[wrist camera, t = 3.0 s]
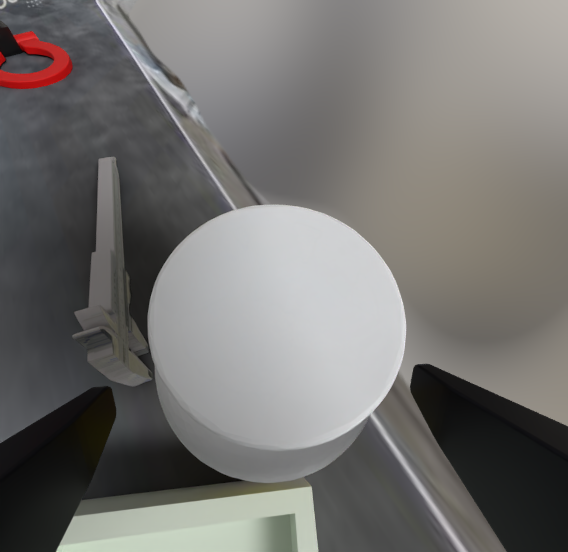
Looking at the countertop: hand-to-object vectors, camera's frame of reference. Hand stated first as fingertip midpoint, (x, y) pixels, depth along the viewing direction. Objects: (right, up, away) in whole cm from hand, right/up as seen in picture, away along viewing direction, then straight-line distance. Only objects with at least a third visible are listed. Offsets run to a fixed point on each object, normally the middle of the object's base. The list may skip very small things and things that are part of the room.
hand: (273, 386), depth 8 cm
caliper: (-12, +5, +12) cm, 18 cm away
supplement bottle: (-1, -3, +8) cm, 9 cm away
